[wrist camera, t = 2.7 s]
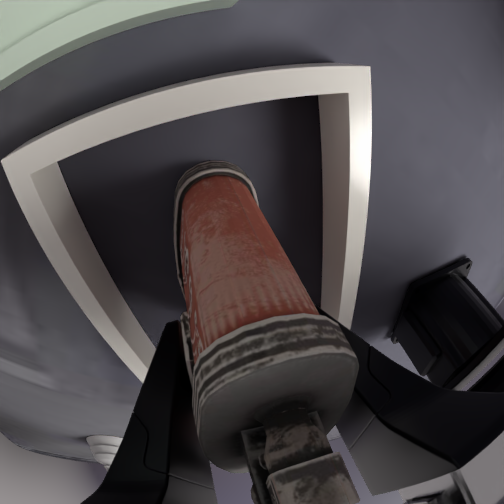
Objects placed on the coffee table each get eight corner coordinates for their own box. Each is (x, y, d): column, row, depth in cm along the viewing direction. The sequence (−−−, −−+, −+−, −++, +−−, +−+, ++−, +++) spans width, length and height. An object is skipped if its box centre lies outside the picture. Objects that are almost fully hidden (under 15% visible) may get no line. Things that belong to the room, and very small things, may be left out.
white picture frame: (336, 62, 8) (370, 66, 7) (331, 321, 17) (346, 347, 15) (28, 140, 7) (0, 160, 5) (157, 370, 15) (159, 400, 14)
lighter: (159, 167, 9) (196, 582, 1) (260, 155, 10) (481, 463, 2) (191, 328, 14) (238, 536, 6) (259, 315, 14) (333, 511, 7)
